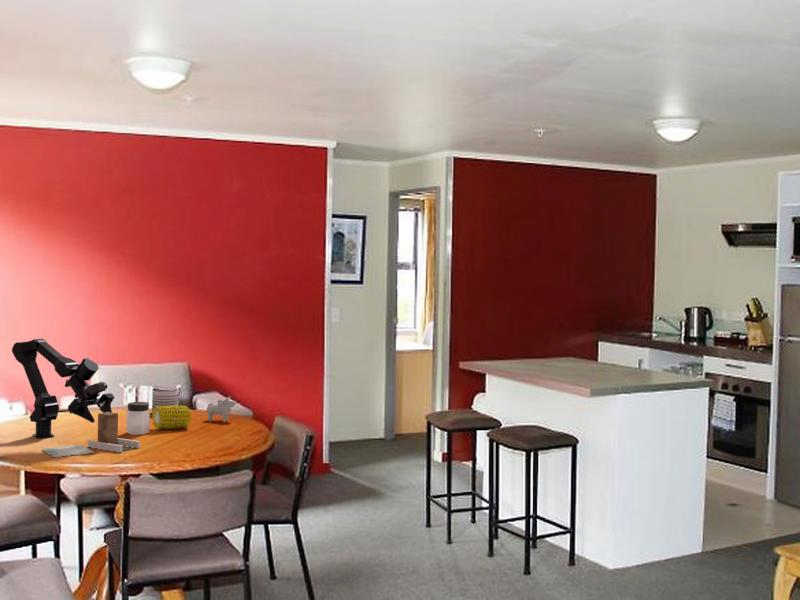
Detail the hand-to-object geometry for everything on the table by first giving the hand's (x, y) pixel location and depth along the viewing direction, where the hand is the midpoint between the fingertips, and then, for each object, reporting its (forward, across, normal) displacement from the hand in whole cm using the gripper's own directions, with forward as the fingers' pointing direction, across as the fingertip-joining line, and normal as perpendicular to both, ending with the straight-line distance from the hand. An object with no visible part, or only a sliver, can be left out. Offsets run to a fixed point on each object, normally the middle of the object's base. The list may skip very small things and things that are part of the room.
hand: (103, 420), depth 334 cm
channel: (+11, 0, +3) cm, 11 cm away
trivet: (+5, -14, +9) cm, 17 cm away
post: (+8, 0, +5) cm, 10 cm away
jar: (+2, +26, +12) cm, 29 cm away
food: (+6, +40, +8) cm, 42 cm away
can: (-14, +68, +28) cm, 74 cm away
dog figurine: (+9, +67, +5) cm, 68 cm away
